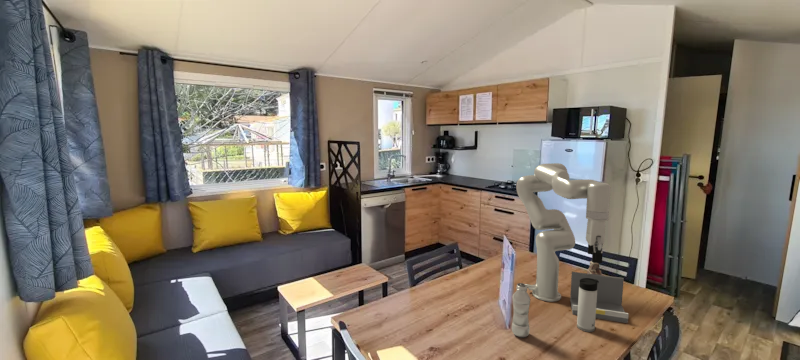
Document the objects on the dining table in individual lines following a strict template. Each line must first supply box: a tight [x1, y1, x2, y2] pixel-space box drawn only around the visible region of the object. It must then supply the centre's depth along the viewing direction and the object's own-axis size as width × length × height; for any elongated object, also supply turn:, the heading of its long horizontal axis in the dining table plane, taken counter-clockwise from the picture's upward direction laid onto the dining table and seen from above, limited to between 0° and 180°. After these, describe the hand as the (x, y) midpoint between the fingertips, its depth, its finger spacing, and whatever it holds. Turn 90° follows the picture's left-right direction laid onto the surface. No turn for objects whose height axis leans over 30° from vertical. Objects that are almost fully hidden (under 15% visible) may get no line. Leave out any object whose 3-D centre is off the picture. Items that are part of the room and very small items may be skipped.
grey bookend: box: [569, 271, 629, 324], centre depth 148 cm, size 20×13×14 cm, turn 68°
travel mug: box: [576, 278, 599, 333], centre depth 135 cm, size 6×7×20 cm
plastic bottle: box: [511, 282, 531, 338], centre depth 131 cm, size 6×7×20 cm
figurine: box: [586, 260, 602, 275], centre depth 178 cm, size 7×7×12 cm
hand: (594, 258), depth 133 cm, fingers open, 9 cm apart
